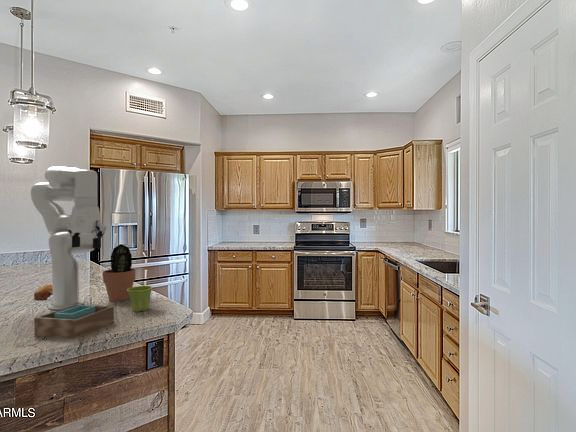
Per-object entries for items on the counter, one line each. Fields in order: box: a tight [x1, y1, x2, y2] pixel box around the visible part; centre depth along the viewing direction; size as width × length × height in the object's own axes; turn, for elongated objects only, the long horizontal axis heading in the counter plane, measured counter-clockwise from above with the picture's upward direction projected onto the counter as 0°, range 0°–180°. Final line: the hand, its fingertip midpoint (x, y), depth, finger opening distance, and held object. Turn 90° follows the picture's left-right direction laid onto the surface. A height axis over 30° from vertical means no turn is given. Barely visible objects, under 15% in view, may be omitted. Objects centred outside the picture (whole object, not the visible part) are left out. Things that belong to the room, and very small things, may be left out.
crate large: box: [33, 304, 115, 339], centre depth 115 cm, size 16×16×6 cm
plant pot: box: [127, 285, 153, 313], centre depth 137 cm, size 9×9×9 cm
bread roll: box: [33, 284, 53, 301], centre depth 162 cm, size 10×10×8 cm
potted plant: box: [102, 243, 137, 303], centre depth 155 cm, size 14×14×25 cm
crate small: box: [54, 304, 96, 319], centre depth 115 cm, size 7×10×6 cm, turn 167°
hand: (86, 247), depth 130 cm, fingers open, 9 cm apart
